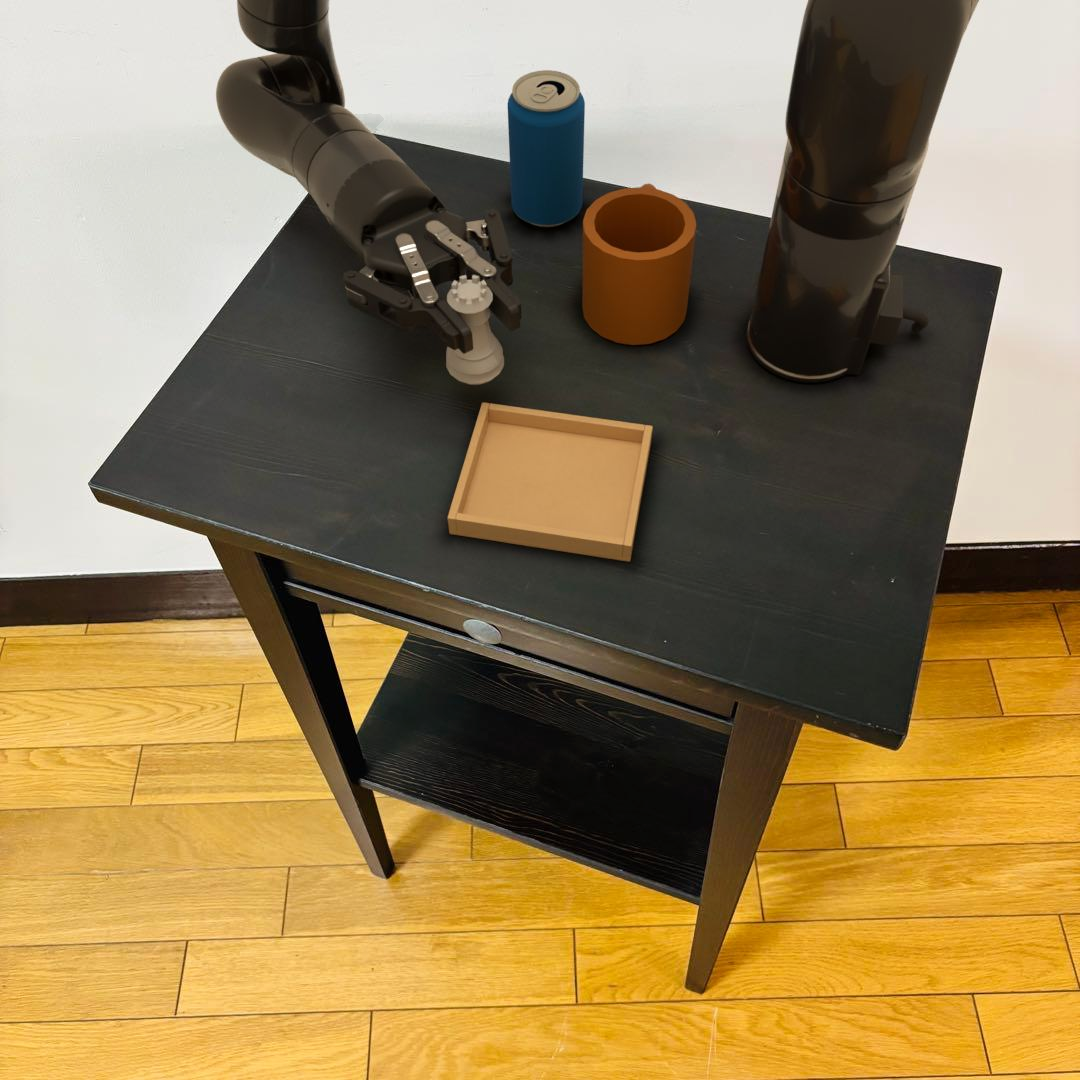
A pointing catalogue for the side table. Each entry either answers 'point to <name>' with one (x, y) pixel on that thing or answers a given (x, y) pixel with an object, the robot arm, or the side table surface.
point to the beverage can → (546, 147)
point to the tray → (552, 481)
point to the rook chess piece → (474, 333)
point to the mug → (637, 264)
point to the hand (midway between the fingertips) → (492, 331)
